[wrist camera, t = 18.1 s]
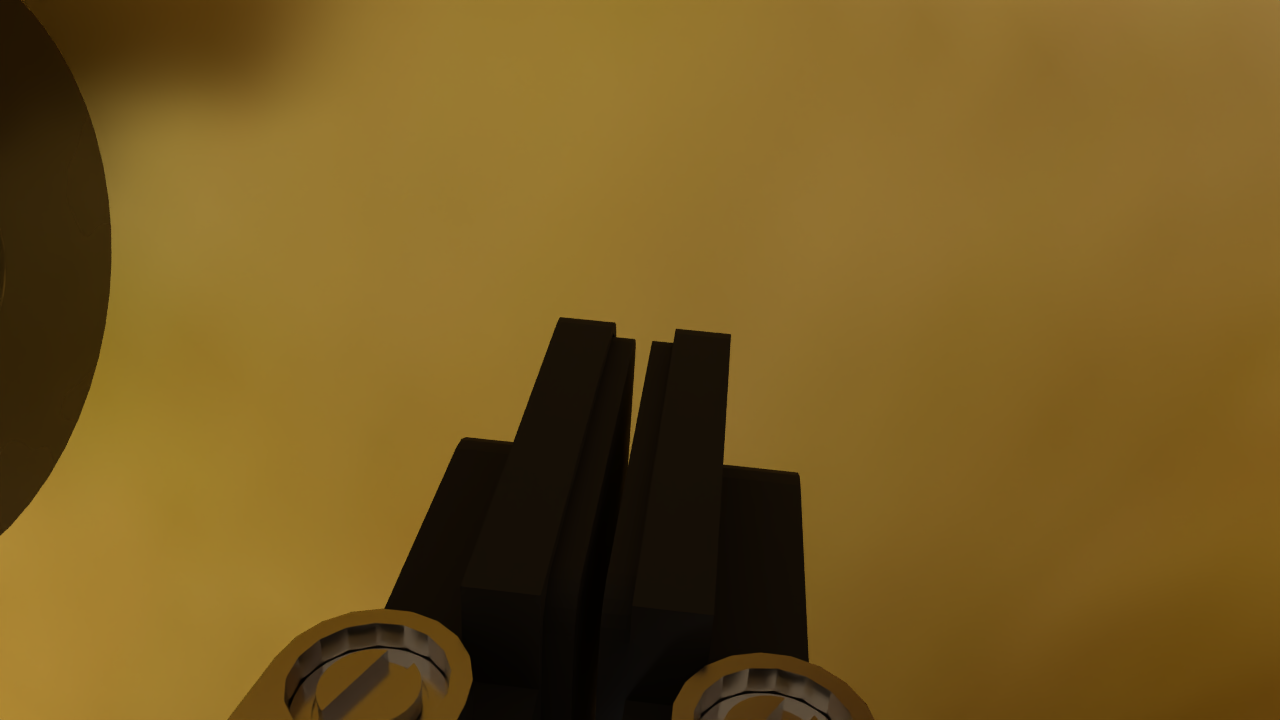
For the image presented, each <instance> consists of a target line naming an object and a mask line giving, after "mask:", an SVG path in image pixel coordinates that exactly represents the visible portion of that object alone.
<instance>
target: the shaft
mask: <svg viewBox="0 0 1280 720" xmlns="http://www.w3.org/2000/svg"><path fill="white" fill-rule="evenodd" d="M110 276H111V224H110V212H109V200H108V193H107V187H106V180H105V174H104V168H103V163H102V159H101V155H100V151H99V147H98V143H97V139H96V135H95V131H94V128H93V125H92V122H91V120H90V117H89V114H88V111H87V108H86V105H85V102H84V100H83V97H82V95H81V93H80V91H79V88H78V86H77V84H76V82H75V79H74V77H73V75H72V73H71V71H70V69H69V67H68V66H67V64H66V62H65V60H64V58H63V57H62V55H61V53H60V51H59V50H58V48H57V46H56V45H55V43H54V42H53V40H52V39H51V37H50V36H49V35H48V33H47V32H46V30H45V29H44V28H43V26H42V25H41V23H40V22H39V21H38V19H37V18H36V17H35V16H34V15H33V14H32V13H31V11H30V10H29V9H28V8H27V7H26V6H25V5H24V4H23V3H22V2H21V0H0V535H1V534H2V533H4V532H5V531H6V530H7V529H8V528H9V527H10V526H11V525H12V524H13V522H14V521H15V520H16V519H17V518H18V517H19V515H20V514H21V513H22V512H23V511H24V509H25V508H26V507H27V506H28V505H29V504H30V502H31V501H32V500H33V498H34V497H35V495H36V494H37V493H38V491H39V490H40V488H41V487H42V485H43V484H44V482H45V481H46V480H47V478H48V477H49V475H50V473H51V472H52V470H53V468H54V466H55V465H56V463H57V461H58V459H59V458H60V456H61V454H62V452H63V451H64V449H65V447H66V445H67V443H68V441H69V438H70V436H71V434H72V432H73V430H74V428H75V425H76V423H77V421H78V419H79V416H80V414H81V411H82V408H83V406H84V403H85V400H86V397H87V395H88V392H89V389H90V386H91V383H92V379H93V376H94V372H95V369H96V365H97V362H98V358H99V353H100V349H101V344H102V339H103V334H104V329H105V324H106V316H107V309H108V301H109V293H110Z"/></svg>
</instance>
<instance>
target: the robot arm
mask: <svg viewBox="0 0 1280 720" xmlns="http://www.w3.org/2000/svg"><path fill="white" fill-rule="evenodd" d="M730 343H731V334H723V333H713V332H703V331H693V330H683V329H676V331H675V337H674V343H667V342H657V341H652V346H651V351H650V356H649V361H648V366H647V371H646V377H645V382H644V387H643V392H642V397H641V402H640V408H639V413H638V418H637V423H636V428H635V433H634V439H633V444H632V449H631V454H630V459H629V464H628V457H629V442H630V427H631V412H632V396H633V381H634V366H635V349H636V341H635V339H628V338H618V337H616V324H615V323H613V322H603V321H593V320H583V319H573V318H563V317H560V318H559V320H558V322H557V325H556V327H555V330H554V333H553V336H552V338H551V341H550V344H549V346H548V349H547V352H546V355H545V357H544V360H543V363H542V366H541V368H540V371H539V374H538V376H537V379H536V382H535V385H534V387H533V390H532V393H531V396H530V398H529V401H528V404H527V406H526V409H525V412H524V415H523V417H522V420H521V423H520V426H519V428H518V431H517V434H516V436H515V439H514V442H506V441H497V440H487V439H478V438H469V437H465V438H463V439H461V441H460V442H459V444H458V446H457V447H456V449H455V452H454V454H453V456H452V458H451V461H450V463H449V465H448V467H447V470H446V472H445V474H444V476H443V479H442V481H441V483H440V485H439V488H438V490H437V492H436V494H435V497H434V499H433V501H432V503H431V505H430V508H429V510H428V512H427V514H426V517H425V519H424V521H423V523H422V526H421V528H420V530H419V532H418V535H417V537H416V539H415V541H414V544H413V546H412V548H411V550H410V553H409V555H408V557H407V559H406V562H405V564H404V566H403V568H402V571H401V573H400V575H399V577H398V579H397V582H396V584H395V586H394V588H393V591H392V593H391V595H390V597H389V600H388V602H387V604H386V606H385V609H375V610H366V611H356V612H350V613H347V614H344V615H341V616H338V617H335V618H332V619H329V620H325V621H322V622H321V623H319V624H317V625H315V626H314V627H312V628H310V629H309V630H307V631H305V632H303V633H302V634H300V635H298V636H296V637H295V638H294V639H293V640H292V641H291V642H290V643H289V644H288V645H287V646H286V647H285V648H284V649H283V650H282V651H281V652H280V653H279V654H278V655H277V656H276V657H275V658H274V659H273V661H272V662H271V663H270V665H269V666H268V667H267V668H266V670H265V671H264V672H263V674H262V675H261V676H260V678H259V679H258V680H257V682H256V683H255V684H254V685H253V687H252V688H251V689H250V691H249V692H248V693H247V695H246V696H245V697H244V699H243V700H242V701H241V702H240V704H239V705H238V706H237V708H236V709H235V710H234V712H233V713H232V714H231V716H230V717H229V718H228V719H227V720H874V718H873V716H872V714H871V712H870V710H869V708H868V706H867V704H866V703H865V702H864V701H863V700H862V699H861V698H860V697H859V696H858V695H857V694H856V693H855V692H854V691H853V690H852V689H851V687H850V686H849V685H848V684H847V683H845V682H844V681H842V680H841V679H839V678H837V677H836V676H834V675H833V674H831V673H830V672H828V671H826V670H825V669H823V668H822V667H820V666H817V665H814V664H811V663H809V658H808V637H807V615H806V594H805V572H804V550H803V529H802V507H801V486H800V476H799V474H798V473H796V472H787V471H778V470H768V469H759V468H750V467H740V466H731V465H723V457H724V441H725V425H726V408H727V392H728V375H729V359H730Z"/></svg>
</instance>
